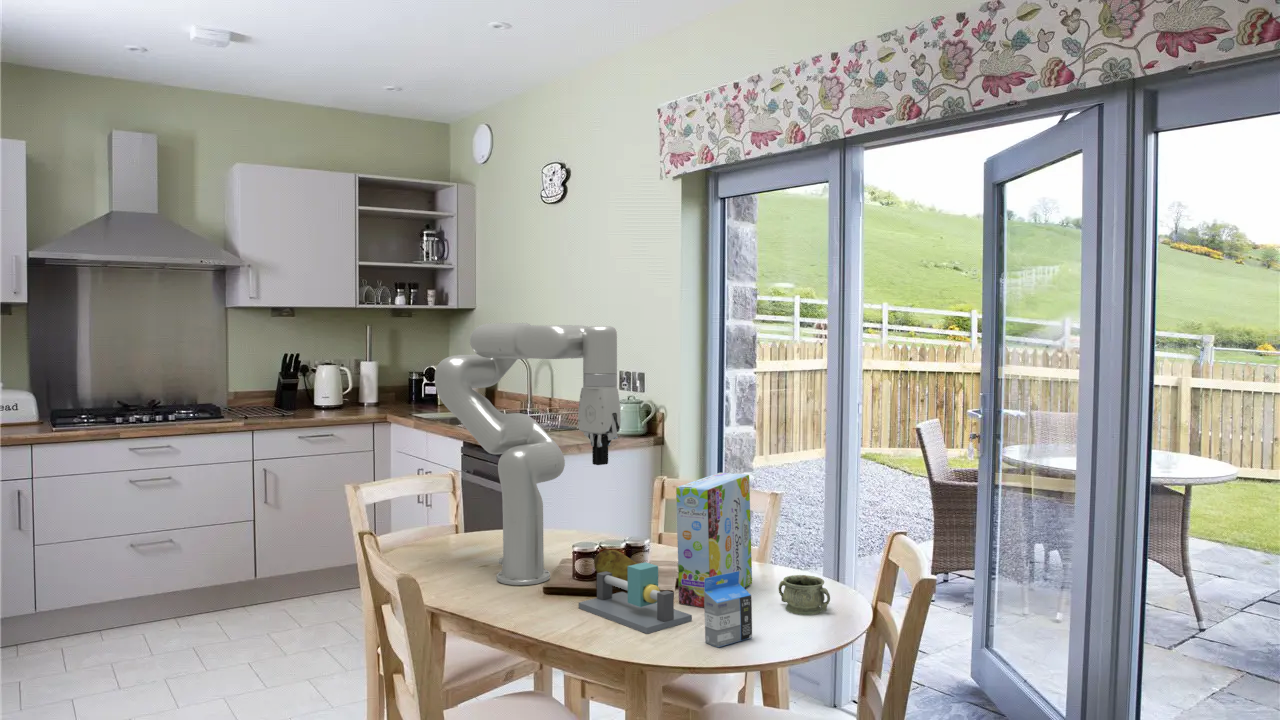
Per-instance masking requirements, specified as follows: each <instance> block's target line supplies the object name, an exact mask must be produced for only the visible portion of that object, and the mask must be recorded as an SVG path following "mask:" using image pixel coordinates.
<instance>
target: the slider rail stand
mask: <svg viewBox="0 0 1280 720" xmlns="http://www.w3.org/2000/svg"><path fill="white" fill-rule="evenodd" d="M614 586H615V587H614ZM613 587H614V588H616V587H618V588H617V589H620V588H621V590H625V591H627V592H625V591H619V592H616V593H613ZM674 595H675V593H674V592H673V591H669V590H668V589H667V590H664V591H662V590H660V588H659V585H658V586H656V585H653V584H648V585H647V586H646V587H643V599H644V600H645V601H646V602H649V603H654V604H650V605H647V606H643V607H639V606H636V605H633V604H630V603H628V581H625V580H622V579H619V578H616V577H613V576H612V573H610V572H607V571H606V572H601V573H596V598H592V599H588V600H583V601H578V609H580V610H583V611H586V612H588V613H591V614H593V615H595V616H596V615H597V616H598V617H601V618H604V619H607V620H609V621H612V622H615V623H617V624H619V625H623V626H625V627H628V628H631V629H633V630H636V631H639V632H641V633H643V634H646V635H647V634H651V633H655V632H659V631H662V630H665V629H669V628H673V627H675V626H678V625H683V624H686V623H689V622H692V621H693V615H692V614H690V613H687V612H684V611H681V610H678V609H676V608H675V606H674V605H675V604H674V603H675V602H674V597H675V596H674ZM656 601H657V603H655V602H656Z"/></svg>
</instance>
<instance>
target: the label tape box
mask: <svg viewBox="0 0 1280 720" xmlns="http://www.w3.org/2000/svg"><path fill="white" fill-rule="evenodd" d="M739 573H740V571H736V572H732V573H727V574H722V575H717V576H713V577H708V578H705V584H704V585H705V586H704V640H705V642H704V643H706V644H708V645H710V646H711V647H715V648H722V647H724V646H728V645H732V644H734V643H739V642H742V641H746V640H749V639H752V638H753V614H752V613H753V612H752V607H753V605H752V594H751V593H749V591H747V589H746V588H743V587H742V586H741V585H740V584H739ZM721 579H723V580H728V581H727V582H726V583H722V584H717V585H716V582H718V581H721Z"/></svg>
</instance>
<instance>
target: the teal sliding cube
mask: <svg viewBox="0 0 1280 720" xmlns="http://www.w3.org/2000/svg"><path fill="white" fill-rule="evenodd" d="M648 584H653V585H656V586H658V587H659V566H658V565H656V564H653V563H650V562H646V561H645V562H640V563H637V564H635V565H631V566H628V591H627V593H628V603H630V604H633V605H636V606H639V607H643V606H647V605H650V604H654V603H649V602H646V601H645V600H644V599H643V587H646V586H647V585H648ZM655 603H657V601H656V602H655Z"/></svg>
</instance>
